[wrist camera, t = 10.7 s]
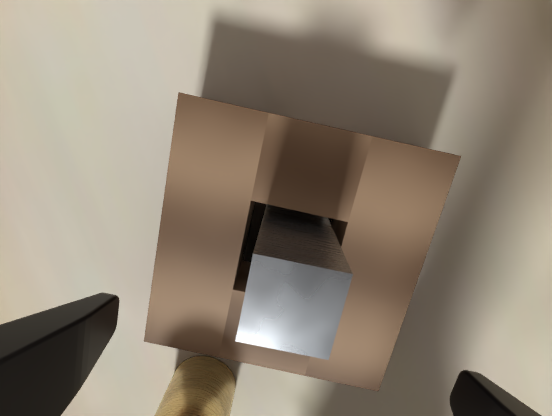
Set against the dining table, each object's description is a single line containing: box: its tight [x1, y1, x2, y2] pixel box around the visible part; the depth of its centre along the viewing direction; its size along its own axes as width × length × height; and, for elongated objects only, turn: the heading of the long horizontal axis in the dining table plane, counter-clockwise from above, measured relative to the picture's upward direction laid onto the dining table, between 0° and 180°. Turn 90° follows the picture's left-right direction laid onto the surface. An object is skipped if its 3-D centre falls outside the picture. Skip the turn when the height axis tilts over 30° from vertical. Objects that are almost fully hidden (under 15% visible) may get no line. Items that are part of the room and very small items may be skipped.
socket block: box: [144, 93, 461, 391], centre depth 17 cm, size 12×12×4 cm
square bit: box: [235, 204, 353, 360], centre depth 15 cm, size 3×3×8 cm
